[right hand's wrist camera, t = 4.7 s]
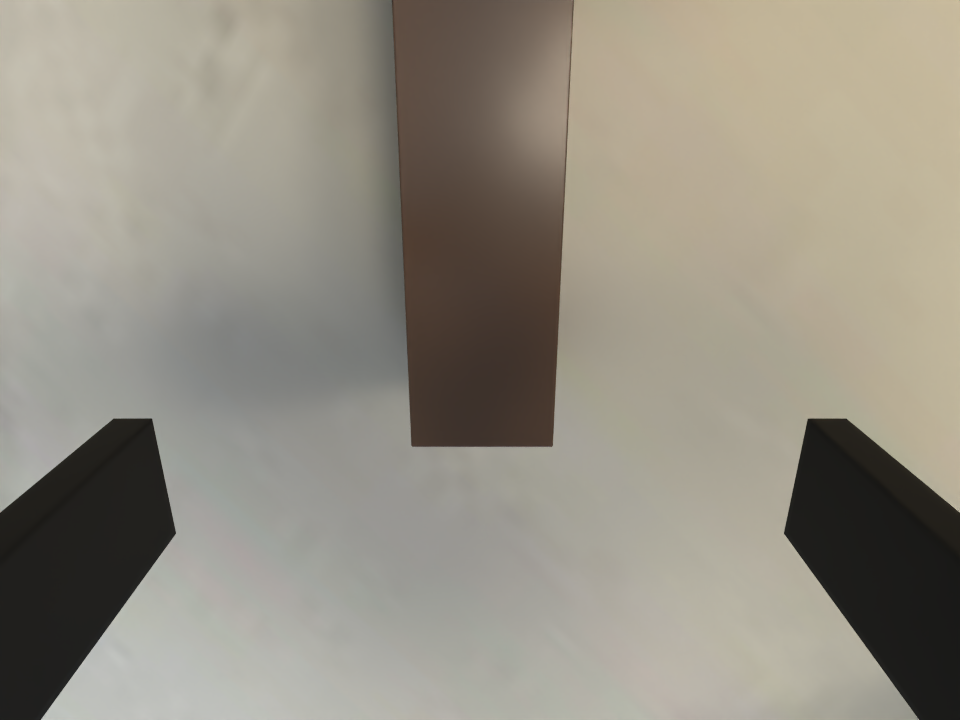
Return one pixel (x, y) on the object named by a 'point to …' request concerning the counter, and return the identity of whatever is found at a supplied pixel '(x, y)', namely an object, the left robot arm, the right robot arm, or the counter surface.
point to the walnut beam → (482, 214)
